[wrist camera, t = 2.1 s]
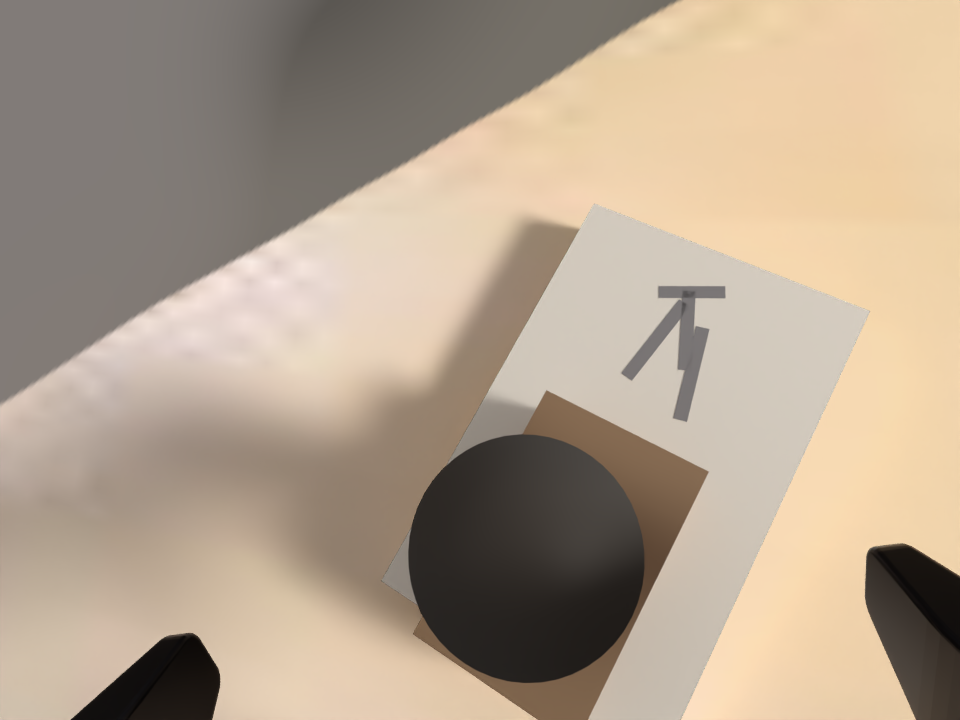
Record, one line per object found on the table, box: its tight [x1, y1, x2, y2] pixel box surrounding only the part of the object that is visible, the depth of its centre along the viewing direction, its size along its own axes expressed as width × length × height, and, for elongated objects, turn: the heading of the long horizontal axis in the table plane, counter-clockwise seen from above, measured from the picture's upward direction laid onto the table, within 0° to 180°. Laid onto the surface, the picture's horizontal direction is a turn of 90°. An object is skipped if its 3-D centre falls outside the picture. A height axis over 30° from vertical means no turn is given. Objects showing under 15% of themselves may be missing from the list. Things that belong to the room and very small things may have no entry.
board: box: [381, 204, 870, 720], centre depth 20 cm, size 14×9×2 cm, turn 150°
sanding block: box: [408, 390, 709, 720], centre depth 14 cm, size 7×4×10 cm, turn 150°
